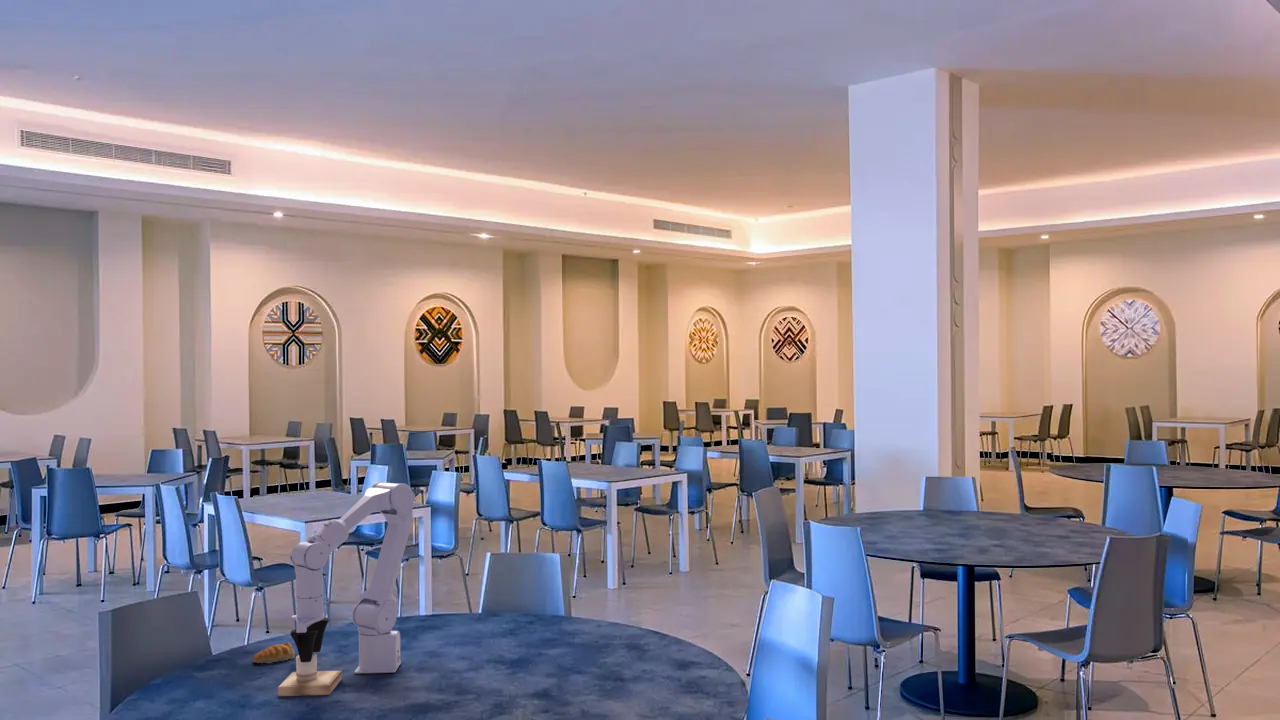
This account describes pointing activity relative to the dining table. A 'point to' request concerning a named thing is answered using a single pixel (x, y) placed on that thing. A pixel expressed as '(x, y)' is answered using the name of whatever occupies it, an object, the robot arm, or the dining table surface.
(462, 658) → the dining table surface
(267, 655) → the pastry
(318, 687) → the base board
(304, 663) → the pot
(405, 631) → the dining table surface
